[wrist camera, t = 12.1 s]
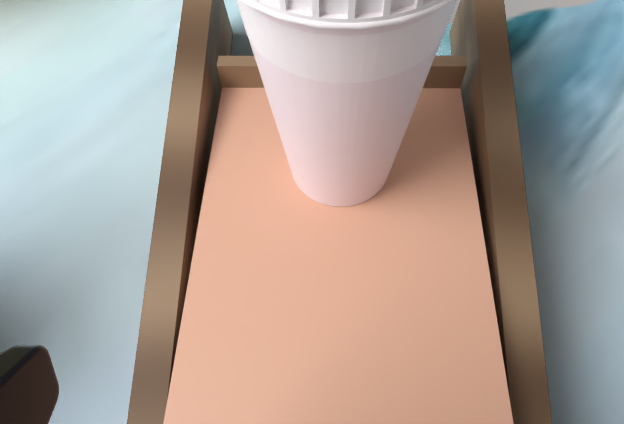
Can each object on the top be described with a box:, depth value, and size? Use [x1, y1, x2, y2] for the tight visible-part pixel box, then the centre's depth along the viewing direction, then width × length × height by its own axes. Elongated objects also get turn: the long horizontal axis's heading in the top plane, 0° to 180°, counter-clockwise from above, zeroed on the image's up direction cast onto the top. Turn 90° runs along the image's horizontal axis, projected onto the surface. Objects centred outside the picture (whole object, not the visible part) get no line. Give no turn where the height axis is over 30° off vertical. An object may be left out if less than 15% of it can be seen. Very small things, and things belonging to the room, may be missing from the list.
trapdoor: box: [163, 56, 513, 424], centre depth 18 cm, size 16×10×5 cm, turn 179°
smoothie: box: [237, 0, 457, 207], centre depth 13 cm, size 6×6×14 cm
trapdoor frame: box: [127, 0, 552, 424], centre depth 20 cm, size 22×13×4 cm, turn 178°
